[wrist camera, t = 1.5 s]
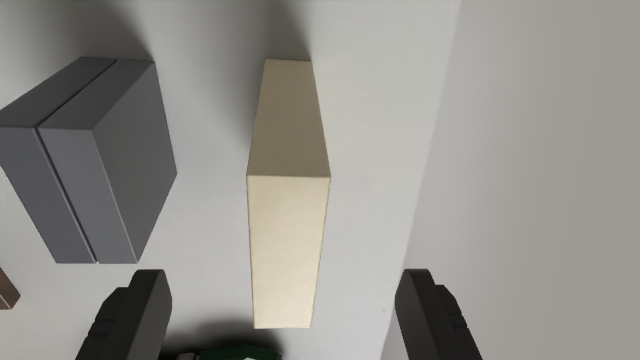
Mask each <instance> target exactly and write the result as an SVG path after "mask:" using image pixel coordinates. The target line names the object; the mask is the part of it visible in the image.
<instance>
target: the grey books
mask: <svg viewBox="0 0 640 360" xmlns="http://www.w3.org/2000/svg"><path fill="white" fill-rule="evenodd" d="M0 165H1V167H2V169H3V170H4V172H5V174H6V176H7V177H8V179H9V181H10V183H11V184H12V186H13V188H14V190H15V191H16V193H17V195H18V197H19V198H20V200H21V202H22V204H23V205H24V207H25V209H26V211H27V212H28V214H29V216H30V218H31V219H32V221H33V223H34V225H35V226H36V228H37V230H38V232H39V233H40V235H41V237H42V239H43V240H44V242H45V244H46V246H47V247H48V249H49V251H50V253H51V254H52V256H53V258H54V260H55V261H56V263H96V262H97V261H98V262H99V263H100V264H137V263H138V262H139V260H140V257H141V255H142V253H143V251H144V248H145V246H146V244H147V241H148V239H149V237H150V235H151V232H152V230H153V228H154V225H155V223H156V221H157V219H158V216H159V214H160V212H161V210H162V207H163V205H164V203H165V200H166V198H167V196H168V194H169V191H170V189H171V187H172V184H173V182H174V180H175V178H176V175H177V172H176V167H175V162H174V157H173V152H172V147H171V142H170V137H169V132H168V127H167V122H166V117H165V112H164V107H163V102H162V97H161V92H160V87H159V82H158V77H157V72H156V67H155V62H153V61H138V60H122V59H119V60H118V61H116V60H115V59H103V58H87V57H80V58H78V59H77V60H75V61H74V62H72V63H71V64H69V65H68V66H66V67H65V68H63V69H62V70H60V71H59V72H57V73H56V74H54V75H53V76H51V77H50V78H48V79H46V80H45V81H43V82H42V83H40V84H39V85H37V86H36V87H34V88H33V89H31V90H30V91H28V92H27V93H25V94H24V95H22V96H21V97H19V98H18V99H16V100H15V101H13V102H12V103H10V104H9V105H7V106H6V107H4V108H3V109H1V110H0Z"/></svg>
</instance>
